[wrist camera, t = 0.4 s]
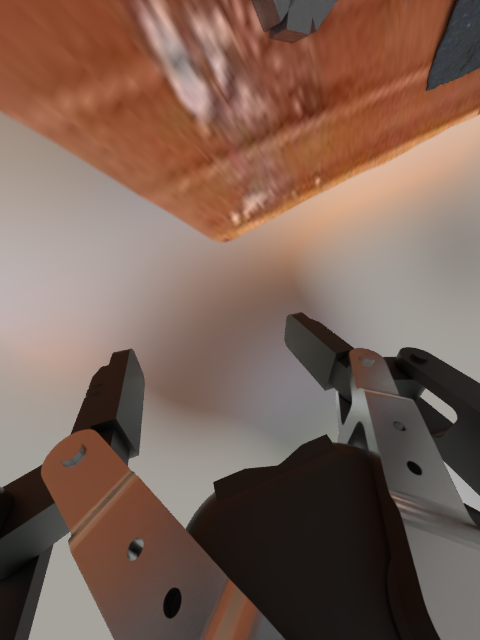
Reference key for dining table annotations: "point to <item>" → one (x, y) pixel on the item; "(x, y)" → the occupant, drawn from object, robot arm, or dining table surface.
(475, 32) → the folded dark garment
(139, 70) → the dining table surface
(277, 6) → the eye ring
